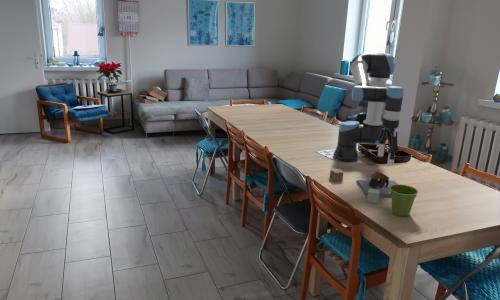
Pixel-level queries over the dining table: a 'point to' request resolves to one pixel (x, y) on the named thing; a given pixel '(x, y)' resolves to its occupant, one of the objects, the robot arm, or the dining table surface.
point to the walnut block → (336, 175)
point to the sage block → (373, 195)
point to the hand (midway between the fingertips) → (385, 160)
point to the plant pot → (402, 199)
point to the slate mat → (384, 190)
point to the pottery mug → (376, 182)
